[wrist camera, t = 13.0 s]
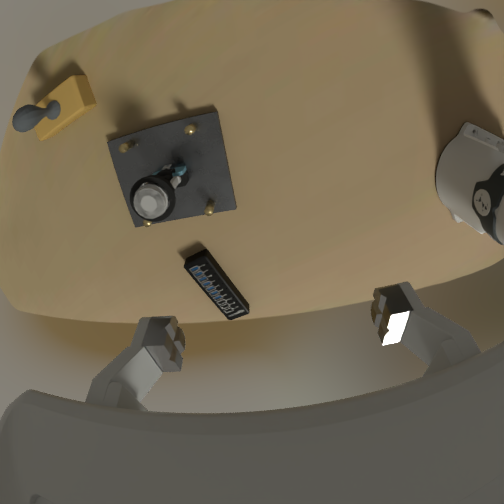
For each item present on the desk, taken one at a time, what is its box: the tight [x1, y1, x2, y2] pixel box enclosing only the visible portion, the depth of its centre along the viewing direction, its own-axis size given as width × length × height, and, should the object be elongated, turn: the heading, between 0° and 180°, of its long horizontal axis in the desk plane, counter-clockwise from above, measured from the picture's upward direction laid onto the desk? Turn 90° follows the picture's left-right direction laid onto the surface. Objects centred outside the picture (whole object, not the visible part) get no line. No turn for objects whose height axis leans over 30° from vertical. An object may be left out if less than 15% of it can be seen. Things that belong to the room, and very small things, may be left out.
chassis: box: [107, 111, 237, 227], centre depth 35 cm, size 16×14×4 cm
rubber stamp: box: [12, 75, 97, 141], centre depth 24 cm, size 10×6×12 cm, turn 108°
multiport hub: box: [184, 249, 249, 320], centre depth 47 cm, size 4×14×2 cm, turn 28°
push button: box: [130, 164, 189, 222], centre depth 31 cm, size 7×5×10 cm
